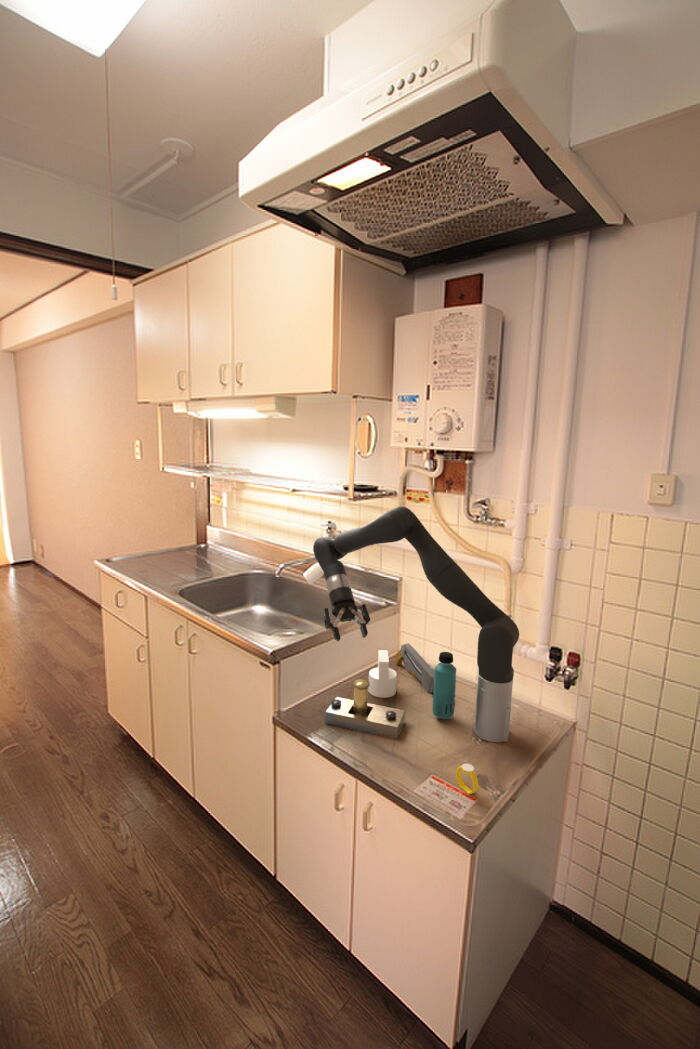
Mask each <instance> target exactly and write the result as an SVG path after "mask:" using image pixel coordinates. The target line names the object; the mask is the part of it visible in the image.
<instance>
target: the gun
mask: <svg viewBox="0 0 700 1049" xmlns="http://www.w3.org/2000/svg"><path fill="white" fill-rule="evenodd" d="M394 662H395V665H396V666H401V665H402V663H403V664H404V667H405V668H406V670H407V672H412V673H413V674H414V675H415V676H416V678H417V679H418V680H419V681H420V682H421V685H422V687H423V689H424V690H425V691H426V692H427V693H428V694H429V693H430V694H431V693H432V694H433V690H434V676H435V668H432V667H431V666H430V664H429V663H428V662H427V660H425V659H424V657H422V655H421V654H420V653H419V652H418V651H417V650H416V649H415V648H414V647H413V646H412V645H411V643H404V644H401V646H400V649H398V651H397V652H396V654H395V657H394Z"/></svg>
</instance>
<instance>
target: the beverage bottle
mask: <svg viewBox="0 0 700 1049" xmlns="http://www.w3.org/2000/svg"><path fill="white" fill-rule="evenodd" d="M438 661H439V662H438V663H437V664H436V665H435V666H434V670H435V676H434V690H433V692H432V695H433V696H432V704H431V707H432V710H431V712H432V713H433V715H434V716H435V717H436V718H439V719H443V720H448V719H452V718H453V716H454V714H455V709H456V706H455V705H456V699H455V698H456V686H457V668H456V666H454V664H453V662H454V654H453V653H451V652H449V651H441V652H440V653H439V656H438Z"/></svg>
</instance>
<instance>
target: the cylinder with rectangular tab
mask: <svg viewBox="0 0 700 1049" xmlns="http://www.w3.org/2000/svg"><path fill="white" fill-rule="evenodd" d="M377 652H378V656H377V667H374V668H371V669H370V670H369V672H368V681H369V683H370V686H369V687H368V694H369V693H370V695H372V696H374V697H376V698H391V697H393V696H395V695H396V692H397V681H398V680H397V679H398V678H397V677H398V675H397V674H398V673H397V671H396V670H394V669H392V668H390V666H389V665H390V660H389V659H390V658H389V650H386V649H385V650H384V649H379V650H378V651H377Z"/></svg>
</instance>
